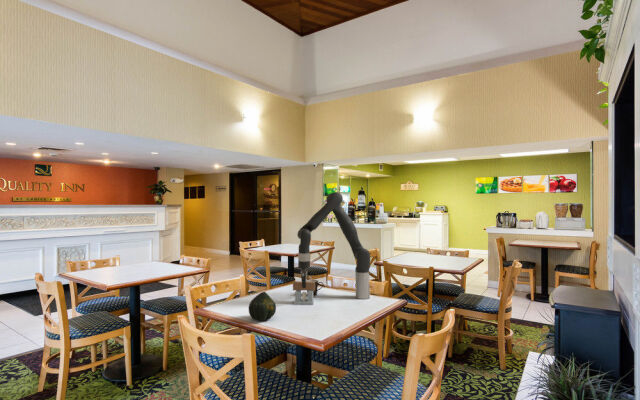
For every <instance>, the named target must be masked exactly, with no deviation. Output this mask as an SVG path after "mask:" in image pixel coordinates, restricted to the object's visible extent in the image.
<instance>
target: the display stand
mask: <svg viewBox="0 0 640 400" xmlns="http://www.w3.org/2000/svg"><path fill="white" fill-rule="evenodd" d="M314 303H315V298H314V296H313V290H309V292H308V294H307V291H306V292H305V291H303V292H302V290H294V302H293V304H294V306H295V305H296V306H313V305H314Z"/></svg>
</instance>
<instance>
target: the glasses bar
mask: <svg viewBox="0 0 640 400" xmlns="http://www.w3.org/2000/svg"><path fill="white" fill-rule="evenodd" d="M296 290H301V291H307V290H315V282H313V281H306V287H305V288H302V281H298V280H297V281H295V280H294V281H292V291H296Z"/></svg>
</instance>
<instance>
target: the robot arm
mask: <svg viewBox="0 0 640 400" xmlns="http://www.w3.org/2000/svg"><path fill="white" fill-rule="evenodd" d="M343 199H344V197H343V195H342V194H341V193H340V192H336V191H333V192H330V193H328V194H327V195H326V203H325V204H324V205H323V206H322V207H321V208H320V209H318V211H317V212H316V213H314V214H313V215H312V217H311V218H310V219H309V220H308V221H307V222H306V223H305V224H304V225H303V226H302V227H301V228H299V229H298V231H297V234H296V235H297V238H298V239H299V240H300V243H299V245H298V257H297V259H298V265H297V266H298V268H299V269H301V270H300V278H301V281H302V288H305V287H306V280H308V269H309V268H311V256H310V255H311V253H310V245H311V239H312V234H311V233H312V232H313V231H316V230H317V229H318V227H319V226H320V225H321V224H322V223H323V222H324V220H325V219H326V218H327V217H328V216H329V214H331V213H333V215H334V217H335V219H336V221H337V224H338V225H339V227H340V229H341V232H342V234H343V236H344V237H345V239H346V241H347V242H348V245H349V246H350V248H351V249H350V250H351V252H352V254H353V257H354V258H355V260H356V266H355V270H354V271H355V272H354V273H355V274H354V276H355V283H354V284H355V298H356V299H358V300H368V299H370V298H371V297H370V295H371V294H370V293H371V292H370V291H371V290H370V268H371V253H370V251H369V250H368V249H366V248H365V247H364V246H363V245H362V243H361V242H360V241H361V240H360V239H359V235H358V232H357V231H358V230H357V228H356V225H355V223H354V221H353V219H351V217H350V216H349V215H348V214H347V212H345V210H344V209H343V206H342V203H343Z"/></svg>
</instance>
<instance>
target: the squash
mask: <svg viewBox="0 0 640 400" xmlns="http://www.w3.org/2000/svg"><path fill="white" fill-rule="evenodd" d="M276 311H277V305H276V302H275V300H274V299H272V297H271V296H270V295H269V294H268V293H267V292H266V291H262V292H260V293H259V294H257V295H256V296H255V297H253V298H252V300H251V301H250V302H249V304H248V313H249V316H250V317H251V318H252V319H254V320H260V321H261V322H265V321H269V320H270V319H271V318H272V317H273V316H274V315H275V314H276Z"/></svg>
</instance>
